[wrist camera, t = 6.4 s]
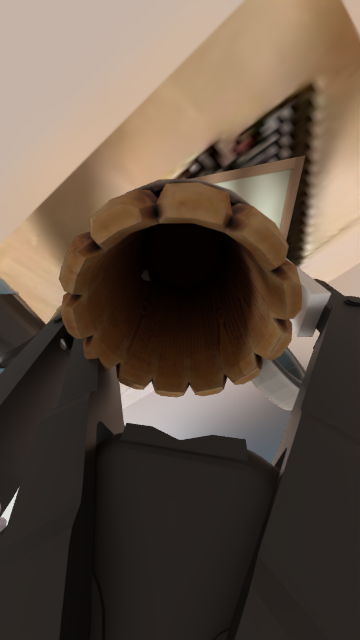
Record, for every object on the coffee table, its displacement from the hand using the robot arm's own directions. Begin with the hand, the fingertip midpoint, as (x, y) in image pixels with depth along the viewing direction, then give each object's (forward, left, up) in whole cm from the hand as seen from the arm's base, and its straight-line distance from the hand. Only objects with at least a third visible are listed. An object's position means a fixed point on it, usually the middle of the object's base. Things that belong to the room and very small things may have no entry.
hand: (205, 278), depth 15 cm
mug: (-1, 0, -5) cm, 5 cm away
